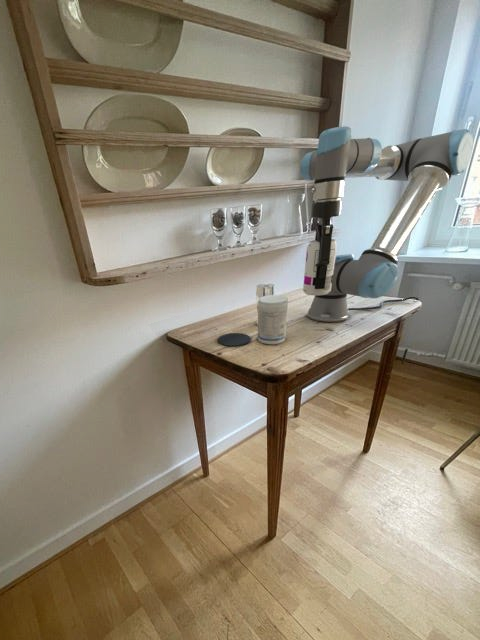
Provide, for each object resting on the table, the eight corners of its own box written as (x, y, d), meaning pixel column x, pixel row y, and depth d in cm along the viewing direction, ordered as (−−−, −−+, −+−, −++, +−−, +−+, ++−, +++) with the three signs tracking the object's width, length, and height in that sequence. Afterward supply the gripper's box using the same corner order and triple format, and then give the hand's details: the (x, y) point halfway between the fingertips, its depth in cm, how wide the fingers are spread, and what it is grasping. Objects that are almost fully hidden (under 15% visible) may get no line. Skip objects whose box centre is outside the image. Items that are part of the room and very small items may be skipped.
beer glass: (259, 320, 125) (260, 283, 118) (275, 321, 122) (277, 284, 114) (252, 325, 121) (253, 287, 113) (268, 327, 117) (270, 288, 109)
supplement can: (298, 294, 95) (302, 242, 88) (310, 288, 100) (315, 239, 92) (323, 297, 90) (330, 242, 82) (335, 290, 95) (342, 238, 87)
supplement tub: (259, 334, 111) (260, 294, 104) (285, 335, 108) (288, 294, 101) (255, 344, 103) (256, 302, 96) (284, 346, 100) (287, 302, 93)
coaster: (239, 331, 115) (240, 330, 115) (257, 341, 106) (257, 340, 105) (212, 338, 112) (212, 337, 112) (227, 349, 102) (227, 348, 102)
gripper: (308, 202, 92) (301, 278, 103) (317, 202, 75) (308, 294, 86) (334, 199, 90) (325, 277, 102) (350, 198, 73) (336, 293, 84)
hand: (317, 285), depth 94 cm, fingers closed on supplement can, 8 cm apart
